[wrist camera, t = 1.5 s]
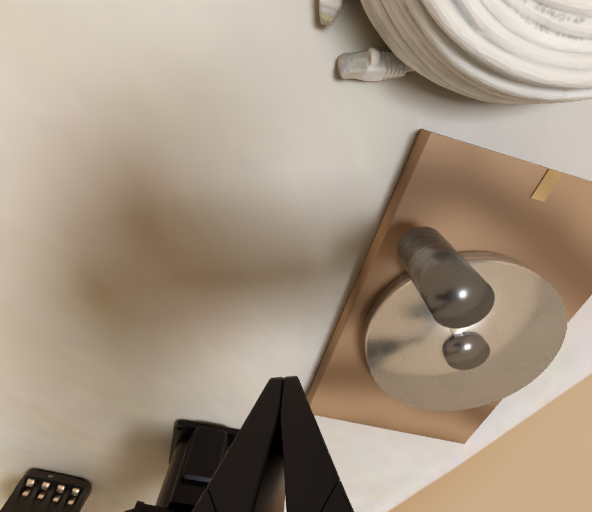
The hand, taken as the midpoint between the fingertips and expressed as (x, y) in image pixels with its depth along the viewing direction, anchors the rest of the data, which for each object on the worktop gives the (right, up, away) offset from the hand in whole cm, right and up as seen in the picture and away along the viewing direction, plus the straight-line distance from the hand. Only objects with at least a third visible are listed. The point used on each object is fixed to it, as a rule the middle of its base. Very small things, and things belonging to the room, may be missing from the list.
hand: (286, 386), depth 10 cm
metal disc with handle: (+10, 0, +11) cm, 15 cm away
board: (+11, 0, +13) cm, 17 cm away
